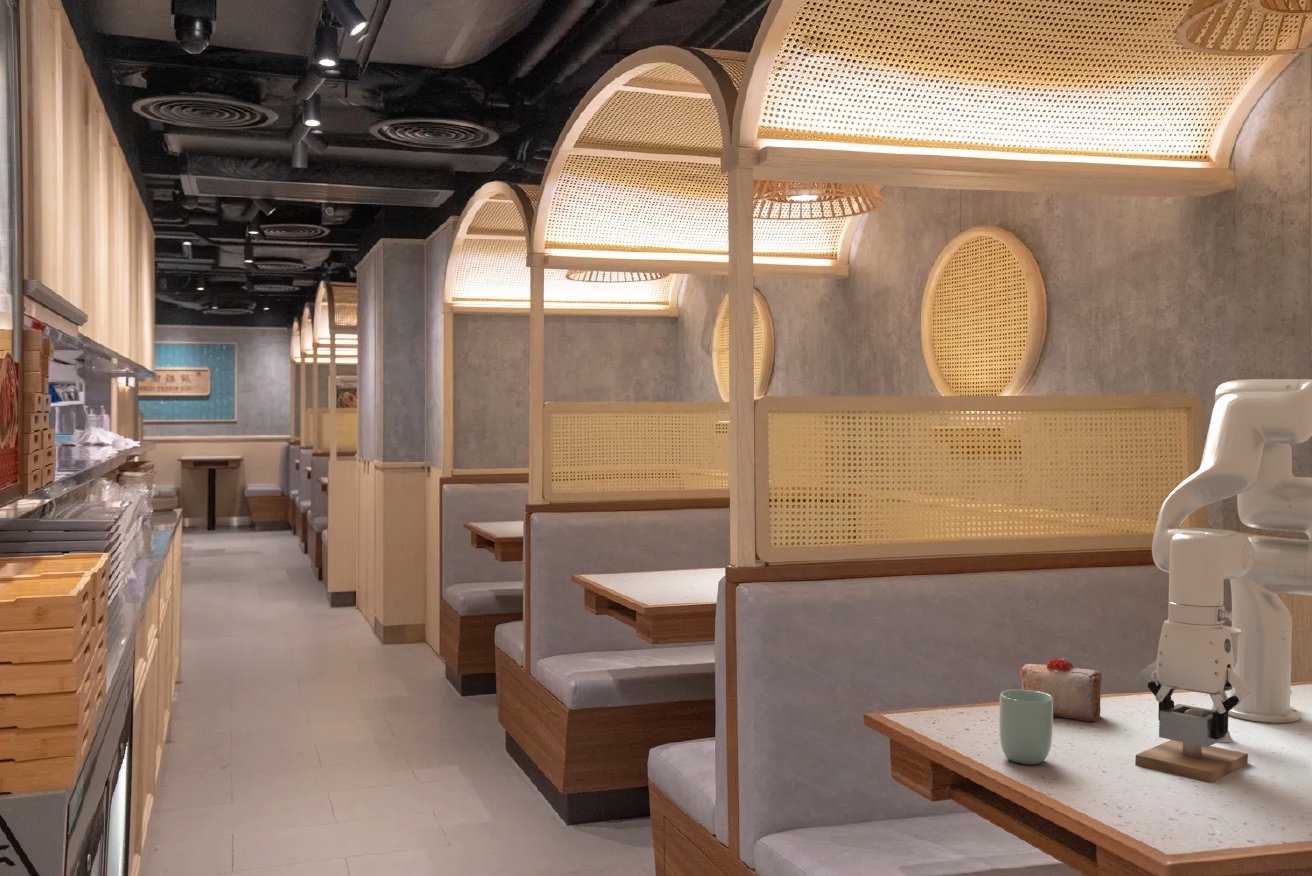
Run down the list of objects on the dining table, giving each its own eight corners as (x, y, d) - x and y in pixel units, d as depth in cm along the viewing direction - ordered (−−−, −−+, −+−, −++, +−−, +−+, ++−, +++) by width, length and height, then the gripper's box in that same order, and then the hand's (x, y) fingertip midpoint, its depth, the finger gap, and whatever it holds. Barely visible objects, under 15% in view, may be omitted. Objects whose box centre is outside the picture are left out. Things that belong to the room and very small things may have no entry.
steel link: (1178, 729, 181) (1179, 703, 181) (1225, 739, 176) (1225, 712, 176) (1158, 737, 177) (1159, 711, 177) (1206, 747, 171) (1207, 720, 171)
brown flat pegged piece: (1174, 747, 185) (1176, 695, 185) (1247, 763, 177) (1249, 708, 177) (1135, 764, 176) (1136, 709, 176) (1210, 782, 168) (1211, 724, 168)
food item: (1014, 713, 206) (1015, 658, 206) (1025, 704, 213) (1026, 650, 213) (1095, 725, 199) (1096, 667, 199) (1104, 715, 206) (1105, 659, 206)
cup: (996, 764, 175) (997, 698, 175) (1000, 751, 182) (1002, 687, 182) (1050, 771, 172) (1052, 703, 172) (1053, 757, 179) (1054, 692, 179)
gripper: (1265, 620, 172) (1262, 740, 173) (1149, 605, 185) (1146, 717, 185) (1246, 626, 167) (1243, 749, 168) (1127, 610, 180) (1124, 725, 180)
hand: (1192, 731), depth 176 cm, fingers closed on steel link, 7 cm apart
